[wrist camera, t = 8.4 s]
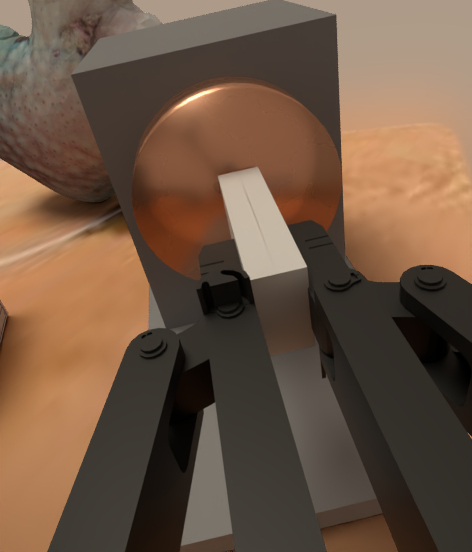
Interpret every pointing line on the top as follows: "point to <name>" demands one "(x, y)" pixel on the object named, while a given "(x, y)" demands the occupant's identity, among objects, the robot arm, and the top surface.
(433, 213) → the top surface
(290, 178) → the orange rounded long piece
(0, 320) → the medicine box
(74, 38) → the grey rounded bird shape
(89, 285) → the top surface
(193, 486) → the bearing block
